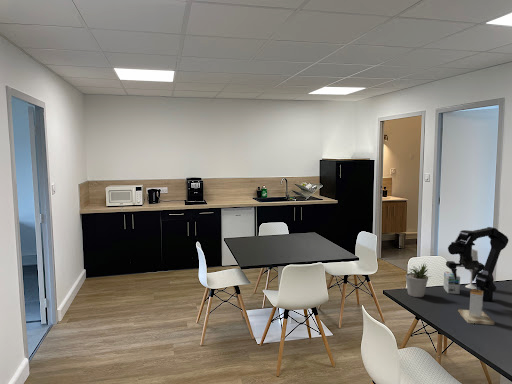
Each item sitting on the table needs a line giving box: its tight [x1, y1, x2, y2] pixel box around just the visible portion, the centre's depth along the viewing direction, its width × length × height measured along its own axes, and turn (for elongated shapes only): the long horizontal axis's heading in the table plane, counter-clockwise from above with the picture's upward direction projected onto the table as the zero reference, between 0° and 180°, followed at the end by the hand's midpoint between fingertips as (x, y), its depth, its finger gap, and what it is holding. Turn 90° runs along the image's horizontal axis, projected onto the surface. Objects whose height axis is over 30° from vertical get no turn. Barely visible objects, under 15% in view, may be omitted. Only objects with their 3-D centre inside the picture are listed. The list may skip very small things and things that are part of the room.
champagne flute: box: [465, 248, 479, 290], centre depth 247 cm, size 7×7×24 cm
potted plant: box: [405, 261, 432, 298], centre depth 231 cm, size 13×14×20 cm
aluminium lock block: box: [468, 289, 484, 319], centre depth 198 cm, size 5×5×13 cm
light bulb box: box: [442, 270, 461, 295], centre depth 240 cm, size 11×7×11 cm, turn 168°
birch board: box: [457, 309, 495, 326], centre depth 199 cm, size 12×14×2 cm
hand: (464, 280), depth 220 cm, fingers open, 9 cm apart
